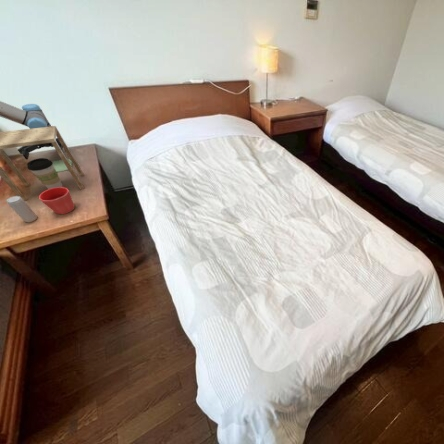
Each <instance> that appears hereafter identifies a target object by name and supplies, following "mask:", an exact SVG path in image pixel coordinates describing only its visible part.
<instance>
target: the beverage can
mask: <svg viewBox="0 0 444 444" xmlns="http://www.w3.org/2000/svg"><path fill="white" fill-rule="evenodd" d="M6 203H7V204H8V205H9V207H10V208H11V209H12V210H13V211H14V212H15V213H16V215H18V216H19V218H20V219H21V220H22V221H23V222H25V223H32V222H34V221H36V220H37V219H38V215H37V214H36V213H35V212H34V211H33V209H32V208H31V207H30V205H28V204H27V202H26V201H24V200H23V199H22V198H21V197H20V196H17V195H14V196H10V197H8V198H7V199H6Z"/></svg>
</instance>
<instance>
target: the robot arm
mask: <svg viewBox="0 0 444 444" xmlns="http://www.w3.org/2000/svg"><path fill="white" fill-rule="evenodd" d="M0 118H3V119H5V120H8V121H11V122H14V123H17V124H19V125H22V126H25V127H27V128H28V129H33V128H42V127H51V125H52V124H51V123H50V122H49V120H48V118H47V117H46V115H45V113H44V112H43V109H42V108H41V107H40V105H38V104H37V103H26V104H24V105H22V106H21V108H19V107H16V106H14V105H12V104H9V103H6V102H4V101H2V100H0ZM56 142H57V144H58V145H59V147H60V148H61V150H62V151H63V150H64V148H63V146H62V145H61V143H60V141H59V140H58V138H57V137H56ZM49 147H50V148H54V146H53V144H52V143H44V144H36V145H28V146H21V147H18V149H17V151H18V153H19V154H20V155H22V156H23V158H24V159H25V160H26V161H27V160H29V157H30V153H31V152H34V151H36V150H40V149H42V148H49ZM56 153H57V154H58V152H57V151H56Z"/></svg>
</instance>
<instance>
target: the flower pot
mask: <svg viewBox="0 0 444 444" xmlns="http://www.w3.org/2000/svg"><path fill="white" fill-rule="evenodd" d="M38 199H39V201H41V202H42V203H43V205H45V206H46V207H47V208H48V209H50V210H51V211H52V212H54V213H55V214H57V215H64V214H68V213H70V212H72V211H73V210H74V209H75V204H74V201H73V197H72V195H71V192H70V190H69V189H68V188H67V187H64V186H62V187H56V188H51V189H48V188H47V189H46V190H44V191H42V192H41V193H40V194H39V196H38Z"/></svg>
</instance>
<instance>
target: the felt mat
mask: <svg viewBox="0 0 444 444" xmlns="http://www.w3.org/2000/svg"><path fill="white" fill-rule="evenodd" d="M67 160H68V162H69V163H70V165H71V166H72V167H73V163H72V161H71V160H70V158H67ZM51 162H52V163H53V164H52V165H53V167H54V168H55V170H56V172H57V173H63V172H67V171H68V172H69V170H68V168H67V167H66V165H65V164H64V162H63V160H62V159H58V160H51Z"/></svg>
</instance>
